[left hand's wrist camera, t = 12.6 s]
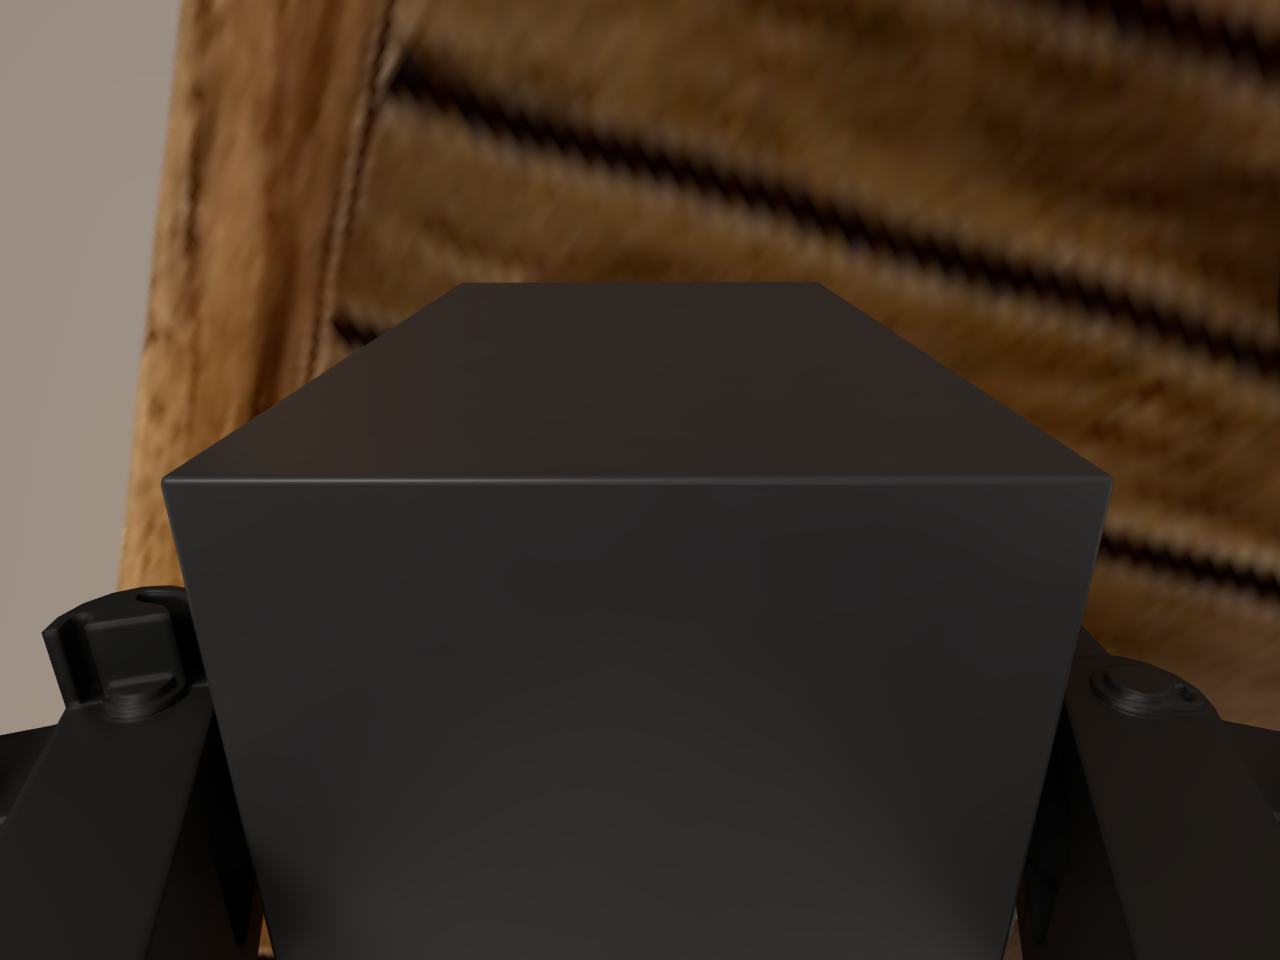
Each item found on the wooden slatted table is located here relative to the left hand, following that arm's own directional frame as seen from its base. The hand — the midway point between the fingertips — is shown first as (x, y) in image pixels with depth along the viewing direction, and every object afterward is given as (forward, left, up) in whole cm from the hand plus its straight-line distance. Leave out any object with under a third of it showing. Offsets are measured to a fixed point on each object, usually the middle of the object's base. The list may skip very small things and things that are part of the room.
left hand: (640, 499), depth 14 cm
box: (-2, +7, -1) cm, 7 cm away
